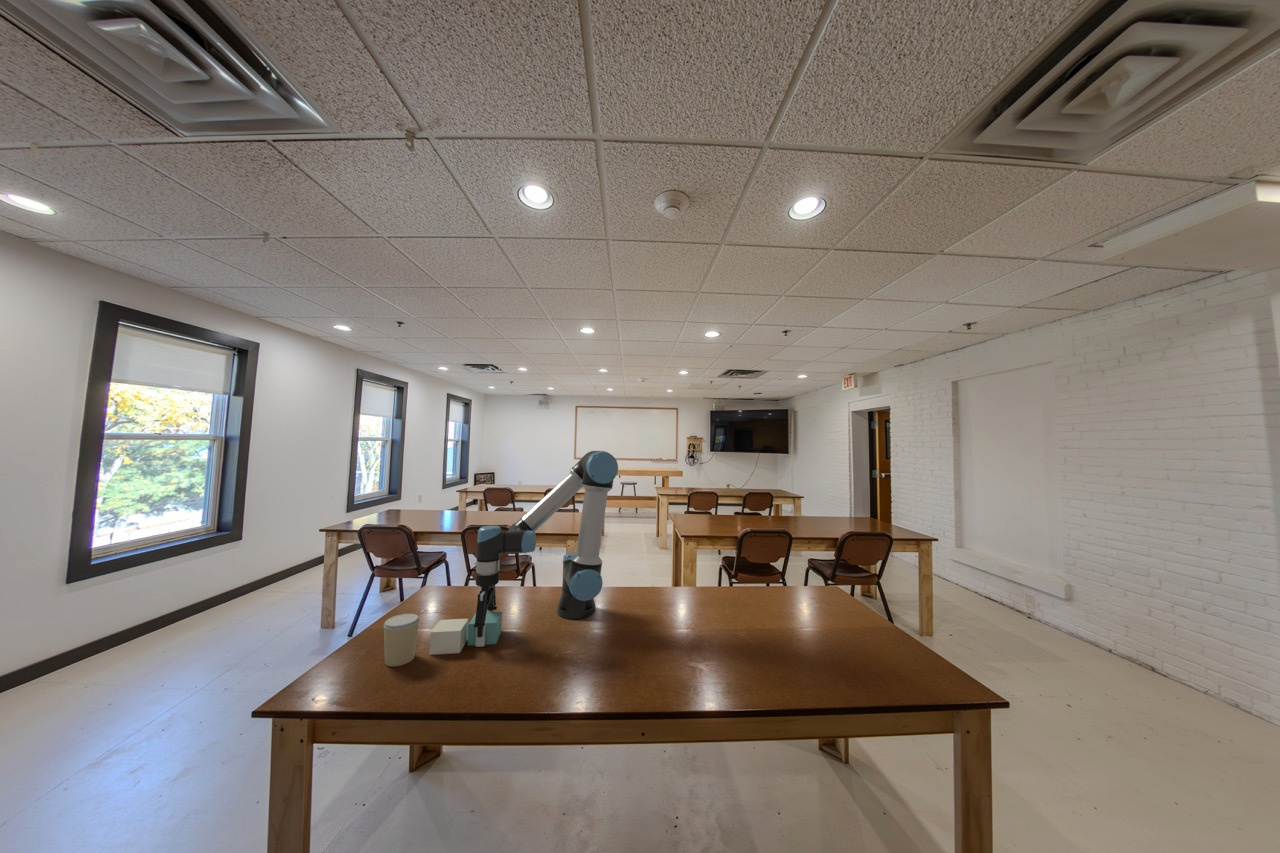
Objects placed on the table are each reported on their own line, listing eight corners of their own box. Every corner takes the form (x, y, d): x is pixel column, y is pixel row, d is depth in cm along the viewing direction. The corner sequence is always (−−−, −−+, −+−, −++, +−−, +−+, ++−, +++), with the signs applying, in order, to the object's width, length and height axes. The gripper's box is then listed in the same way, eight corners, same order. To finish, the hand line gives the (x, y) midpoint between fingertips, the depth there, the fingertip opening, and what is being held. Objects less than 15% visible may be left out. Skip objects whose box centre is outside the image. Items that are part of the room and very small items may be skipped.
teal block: (501, 631, 140) (502, 611, 141) (496, 644, 131) (497, 622, 132) (474, 633, 139) (475, 612, 139) (467, 645, 130) (468, 624, 130)
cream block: (467, 639, 134) (468, 618, 135) (459, 653, 125) (460, 630, 126) (439, 641, 133) (440, 619, 133) (429, 655, 124) (430, 632, 124)
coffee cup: (424, 652, 125) (425, 614, 126) (403, 669, 116) (405, 627, 116) (396, 650, 126) (398, 612, 127) (373, 666, 117) (376, 625, 117)
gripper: (485, 562, 148) (483, 622, 146) (465, 583, 124) (462, 655, 123) (506, 562, 148) (503, 622, 147) (490, 583, 125) (487, 654, 124)
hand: (484, 637), depth 135 cm, fingers open, 11 cm apart
